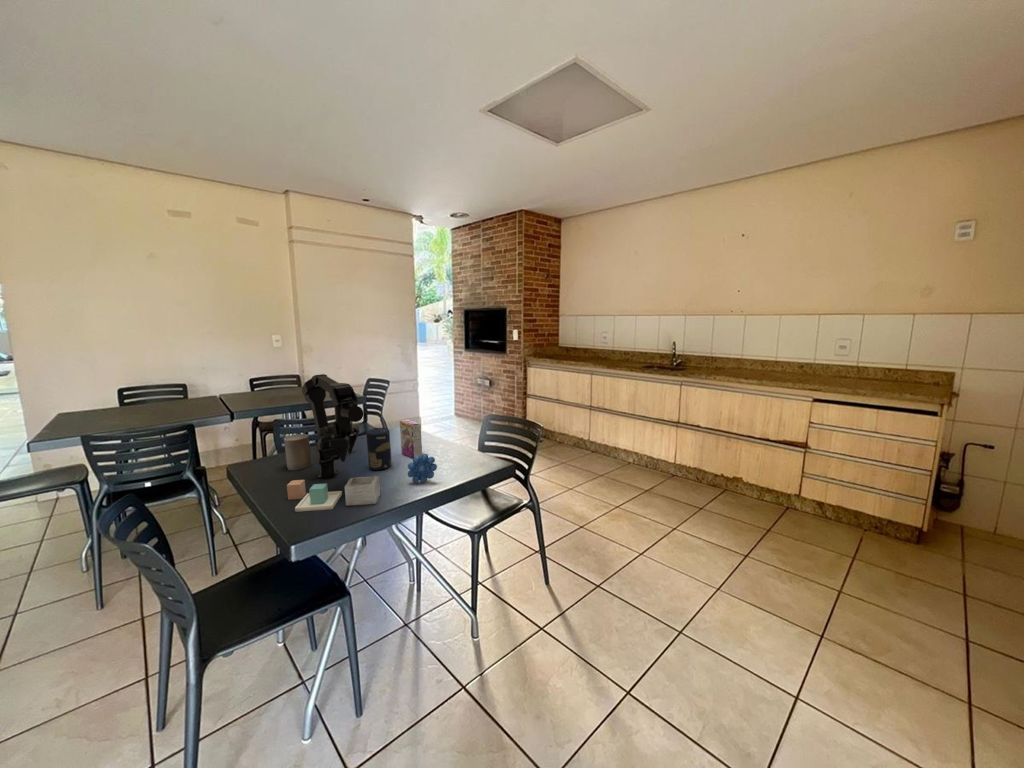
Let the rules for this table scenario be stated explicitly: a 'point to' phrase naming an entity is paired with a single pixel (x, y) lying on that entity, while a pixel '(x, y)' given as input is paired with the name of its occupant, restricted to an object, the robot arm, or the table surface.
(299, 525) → the table surface
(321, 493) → the teal block
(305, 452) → the pillar candle
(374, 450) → the canister
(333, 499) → the tray
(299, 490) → the terracotta block
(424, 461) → the blue knobby flower
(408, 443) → the candy bar box
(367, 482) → the box
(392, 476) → the table surface
